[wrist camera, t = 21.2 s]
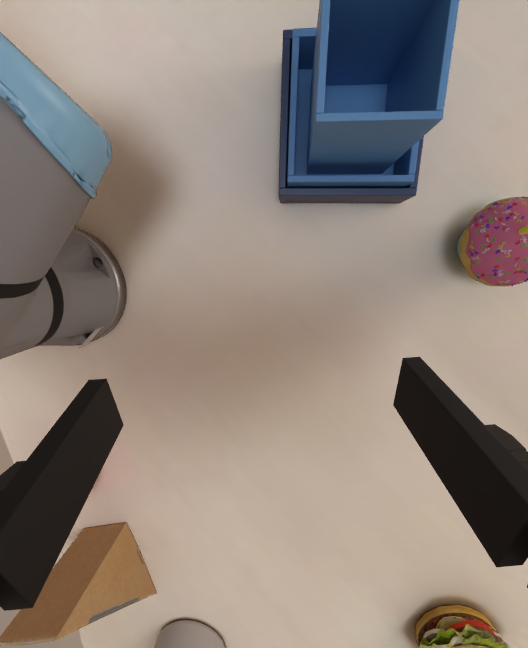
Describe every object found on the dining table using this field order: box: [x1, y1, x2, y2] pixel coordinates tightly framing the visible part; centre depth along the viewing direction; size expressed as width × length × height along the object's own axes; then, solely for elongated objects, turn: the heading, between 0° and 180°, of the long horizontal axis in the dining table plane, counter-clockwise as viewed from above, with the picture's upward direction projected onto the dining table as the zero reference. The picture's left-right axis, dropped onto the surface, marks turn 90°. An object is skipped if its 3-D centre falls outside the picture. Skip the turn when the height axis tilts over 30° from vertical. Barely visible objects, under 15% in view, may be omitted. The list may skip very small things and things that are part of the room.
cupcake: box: [457, 197, 528, 286], centre depth 27 cm, size 9×8×12 cm
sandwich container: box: [0, 523, 156, 646], centre depth 42 cm, size 9×15×15 cm, turn 15°
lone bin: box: [307, 0, 459, 174], centre depth 24 cm, size 8×8×13 cm
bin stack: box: [279, 28, 424, 203], centre depth 29 cm, size 14×14×6 cm
